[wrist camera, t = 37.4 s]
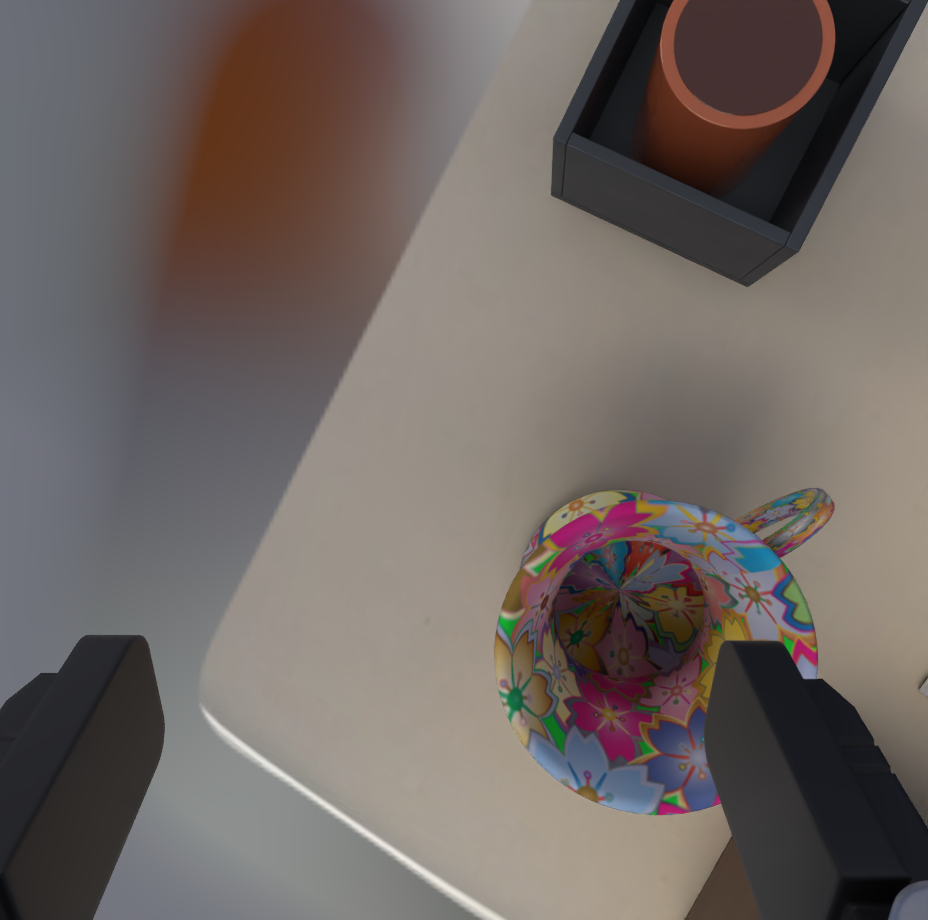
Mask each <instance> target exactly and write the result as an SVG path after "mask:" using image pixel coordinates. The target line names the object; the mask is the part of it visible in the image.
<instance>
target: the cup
mask: <svg viewBox="0 0 928 920" xmlns="http://www.w3.org/2000/svg"><path fill="white" fill-rule="evenodd" d="M834 50H835V26H834V20H833V15H832V12H831V9H830V6H829V4H828V2H827V0H674V1H673V2H672V4H671V6H670V8H669V10H668V12H667V15H666V17H665V20H664V23H663V26H662V30H661V33H660V36H659V40H658V43H657V46H656V50H655V53H654V56H653V60H652V63H651V66H650V70H649V73H648V76H647V80H646V83H645V86H644V90H643V93H642V96H641V100H640V103H639V106H638V110H637V113H636V116H635V120H634V123H633V128H632V136H631V145H632V152H633V157H634V160H635V161H637V162H639V163H641V164H643V165H645V166H647V167H650V168H652V169H654V170H656V171H658V172H660V173H663V174H665V175H667V176H669V177H671V178H673V179H676V180H678V181H680V182H682V183H684V184H687V185H689V186H691V187H693V188H695V189H697V190H700V191H702V192H704V193H706V194H708V195H710V196H713V197H715V198H720V197H722V196H724V195H726V194H728V193H730V192H731V191H733V190H734V189H736V188H737V187H738V186H739V185H740V184H741V183H742V182H743V181H744V180H745V179H746V178H747V177H748V176H749V175H750V173H751V172H752V171H753V170H754V168H755V167H756V166H757V165H758V164H759V162H760V161H761V160H762V159H763V157H764V156H765V155H766V154H767V153H768V151H769V150H770V149H771V148H772V146H773V145H774V144H775V143H776V142H777V140H778V139H779V138H780V137H781V135H782V134H783V133H784V132H785V130H786V129H787V128H788V127H789V126H790V124H791V123H792V122H793V121H794V119H795V118H796V117H797V116H798V115H799V113H800V112H801V111H802V110H803V108H804V107H805V106H806V105H807V104H808V102H809V101H810V100H811V99H812V97H813V96H814V95H815V94H816V92H817V91H818V89H819V88H820V87H821V85H822V83H823V82H824V80H825V78H826V76H827V74H828V71H829V69H830V66H831V63H832V59H833V55H834Z"/></svg>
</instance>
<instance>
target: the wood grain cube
mask: <svg viewBox="0 0 928 920" xmlns="http://www.w3.org/2000/svg"><path fill="white" fill-rule="evenodd" d="M686 920H762V919H761V916H760V913H759V910H758V907H757V904H756V902H755V899H754V896H753V893H752V890H751V887H750V884H749V882H748V879H747V876H746V873H745V870H744V867H743V864H742V861H741V859H740V856H739V853H738V850H737V847H736V844H735V841H734V839H733V837H732V838H731V840H730V842H729V844H728V846H727V847H726V849H725V851H724V853H723V854H722V856H721V858H720V860H719V861H718V863H717V865H716V867H715V868H714V870H713V872H712V874H711V875H710V877H709V879H708V881H707V883H706V884H705V886H704V888H703V890H702V891H701V893H700V895H699V897H698V898H697V900H696V902H695V904H694V905H693V907H692V909H691V911H690V912H689V914H688V916H687V918H686Z"/></svg>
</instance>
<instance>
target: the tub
mask: <svg viewBox="0 0 928 920" xmlns="http://www.w3.org/2000/svg"><path fill="white" fill-rule="evenodd" d="M673 1H674V0H620V1H619V4H618V6H617V8H616V10H615V12H614V14H613V16H612V18H611V20H610V22H609V24H608V26H607V28H606V30H605V32H604V34H603V37H602V39H601V41H600V43H599V45H598V47H597V49H596V51H595V53H594V55H593V57H592V59H591V61H590V63H589V65H588V68H587V70H586V72H585V74H584V76H583V78H582V80H581V82H580V84H579V86H578V88H577V90H576V92H575V94H574V96H573V98H572V101H571V103H570V105H569V107H568V109H567V111H566V113H565V115H564V117H563V119H562V121H561V123H560V125H559V127H558V129H557V132H556V134H555V136H554V138H553V160H552V185H551V195H552V196H554V197H556V198H559V199H561V200H563V201H565V202H567V203H569V204H571V205H574V206H576V207H578V208H580V209H582V210H584V211H586V212H588V213H591V214H593V215H595V216H597V217H599V218H601V219H603V220H606V221H608V222H610V223H612V224H614V225H616V226H618V227H620V228H623V229H625V230H627V231H629V232H631V233H633V234H635V235H638V236H640V237H642V238H644V239H646V240H648V241H650V242H653V243H655V244H657V245H659V246H661V247H663V248H665V249H667V250H670V251H672V252H674V253H676V254H678V255H680V256H682V257H685V258H687V259H689V260H691V261H693V262H695V263H697V264H700V265H702V266H704V267H706V268H708V269H710V270H712V271H714V272H717V273H719V274H721V275H723V276H725V277H727V278H729V279H732V280H734V281H736V282H738V283H740V284H742V285H744V286H746V287H748V286H750V285H751V284H753V283H754V282H756V281H757V280H758V279H760V278H761V277H763V276H764V275H766V274H767V273H769V272H770V271H772V270H773V269H774V268H776V267H777V266H779V265H780V264H782V263H783V262H785V261H786V260H787V259H789V258H790V257H792V256H793V255H795V254H796V253H798V252H799V250H800V248H801V246H802V244H803V242H804V241H805V239H806V237H807V235H808V233H809V231H810V229H811V227H812V225H813V223H814V221H815V219H816V217H817V215H818V213H819V212H820V210H821V208H822V206H823V204H824V202H825V200H826V198H827V196H828V194H829V192H830V190H831V188H832V186H833V184H834V182H835V181H836V179H837V177H838V175H839V173H840V171H841V169H842V167H843V165H844V163H845V161H846V159H847V157H848V155H849V153H850V151H851V150H852V148H853V146H854V144H855V142H856V140H857V138H858V136H859V134H860V132H861V130H862V128H863V126H864V124H865V122H866V120H867V119H868V117H869V115H870V113H871V111H872V109H873V107H874V105H875V103H876V101H877V99H878V97H879V95H880V93H881V91H882V89H883V88H884V86H885V84H886V82H887V80H888V78H889V76H890V74H891V72H892V70H893V68H894V66H895V64H896V62H897V60H898V59H899V57H900V55H901V53H902V51H903V49H904V47H905V45H906V43H907V41H908V39H909V37H910V35H911V33H912V31H913V29H914V28H915V26H916V24H917V22H918V20H919V18H920V16H921V14H922V12H923V10H924V8H925V6H926V4H927V2H928V0H827V2H828V4H829V6H830V9H831V12H832V15H833V20H834V26H835V50H834V55H833V59H832V63H831V66H830V69H829V71H828V74H827V76H826V78H825V80H824V82H823V83H822V85H821V87H820V88H819V89H818V91H817V92H816V94H815V95H814V96H813V97H812V99H811V100H810V101H809V102H808V104H807V105H806V106H805V107H804V108H803V110H802V111H801V112H800V113H799V115H798V116H797V117H796V118H795V119H794V121H793V122H792V123H791V124H790V126H789V127H788V128H787V129H786V130H785V132H784V133H783V134H782V135H781V137H780V138H779V139H778V140H777V142H776V143H775V144H774V145H773V146H772V148H771V149H770V150H769V151H768V153H767V154H766V155H765V156H764V157H763V159H762V160H761V161H760V162H759V164H758V165H757V166H756V167H755V168H754V170H753V171H752V172H751V173H750V175H749V176H748V177H747V178H746V179H745V180H744V181H743V182H742V183H741V184H740V185H739V186H738V187H737V188H736V189H734V190H733V191H731V192H730V193H728V194H726V195H724V196H722V197H720V198H715V197H713V196H710V195H708V194H706V193H704V192H702V191H700V190H697V189H695V188H693V187H691V186H689V185H687V184H684V183H682V182H680V181H678V180H676V179H673V178H671V177H669V176H667V175H665V174H663V173H660V172H658V171H656V170H654V169H652V168H650V167H647V166H645V165H643V164H641V163H639V162H637V161H635V160H634V157H633V152H632V145H631V136H632V128H633V123H634V120H635V116H636V113H637V110H638V106H639V103H640V100H641V96H642V93H643V90H644V86H645V83H646V80H647V76H648V73H649V70H650V66H651V63H652V60H653V56H654V53H655V50H656V46H657V43H658V40H659V36H660V33H661V30H662V26H663V23H664V20H665V17H666V15H667V12H668V10H669V8H670V6H671V4H672V2H673Z"/></svg>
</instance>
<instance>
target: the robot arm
mask: <svg viewBox="0 0 928 920" xmlns="http://www.w3.org/2000/svg"><path fill="white" fill-rule="evenodd" d="M164 732H165V723H164V715H163V710H162V705H161V701H160V696H159V691H158V687H157V682H156V677H155V673H154V668H153V664H152V659H151V654H150V649H149V646H148V643H147V641H146V639H145V638H144V637H143V636H140V635H86V636H84V637H82V638H81V639H80V640H79V642H78V643H77V644H76V646H75V647H74V649H73V650H72V652H71V654H70V655H69V657H68V658H67V660H66V661H65V663H64V665H63V666H62V668H61V669H60V671H59V672H58V673H41V674H39V675H38V676H37V677H36V678H34V679H33V680H32V681H31V682H29V683H28V684H27V685H26V686H24V687H23V688H22V689H21V690H19V691H18V692H17V693H16V694H14V695H13V696H12V697H11V698H9V699H8V700H7V701H6V702H5V703H4V705H3V706H2V708H1V709H0V920H93V918H94V915H95V913H96V910H97V908H98V906H99V903H100V901H101V899H102V896H103V894H104V891H105V889H106V887H107V884H108V882H109V880H110V877H111V875H112V872H113V870H114V867H115V865H116V863H117V860H118V858H119V856H120V853H121V851H122V849H123V846H124V844H125V842H126V839H127V836H128V834H129V832H130V830H131V827H132V825H133V822H134V820H135V818H136V815H137V813H138V811H139V808H140V806H141V804H142V801H143V799H144V796H145V794H146V792H147V789H148V787H149V785H150V782H151V780H152V777H153V775H154V773H155V770H156V768H157V766H158V763H159V760H160V757H161V753H162V749H163V743H164ZM704 745H705V753H706V759H707V763H708V767H709V770H710V773H711V776H712V778H713V781H714V784H715V787H716V790H717V793H718V796H719V798H720V801H721V804H722V807H723V810H724V813H725V816H726V819H727V821H728V824H729V827H730V830H731V833H732V836H733V839H734V841H735V844H736V847H737V850H738V853H739V856H740V859H741V861H742V864H743V867H744V870H745V873H746V876H747V879H748V882H749V884H750V887H751V890H752V893H753V896H754V899H755V902H756V904H757V907H758V910H759V913H760V916H761V919H762V920H928V828H927V826H926V825H925V823H924V822H923V820H922V818H921V817H920V815H919V813H918V812H917V810H916V808H915V807H914V805H913V803H912V802H911V800H910V798H909V797H908V795H907V793H906V792H905V790H904V788H903V787H902V785H901V783H900V782H899V780H898V778H897V777H896V775H895V774H892V773H891V771H890V765H889V764H888V762H887V760H886V759H885V757H884V755H883V754H882V752H881V750H880V749H879V747H878V746H875V745H874V739H873V737H872V735H871V734H870V732H869V730H868V729H867V727H866V725H865V724H864V722H863V720H862V719H861V717H860V715H859V714H858V712H857V710H856V709H855V707H854V706H853V705H852V704H850V703H849V702H848V701H847V700H846V699H845V698H844V697H842V696H841V695H840V694H839V693H838V692H837V691H836V690H834V689H833V688H832V687H831V686H830V685H829V684H828V683H826V682H825V681H824V680H823V679H803V677H802V675H801V673H800V671H799V670H798V668H797V666H796V664H795V662H794V661H793V659H792V657H791V655H790V653H789V651H788V650H787V648H786V647H785V645H784V644H783V643H782V642H780V641H750V640H726V641H724V642H723V643H722V644H721V646H720V649H719V653H718V657H717V662H716V667H715V672H714V677H713V682H712V687H711V692H710V697H709V702H708V707H707V712H706V717H705V723H704Z"/></svg>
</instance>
